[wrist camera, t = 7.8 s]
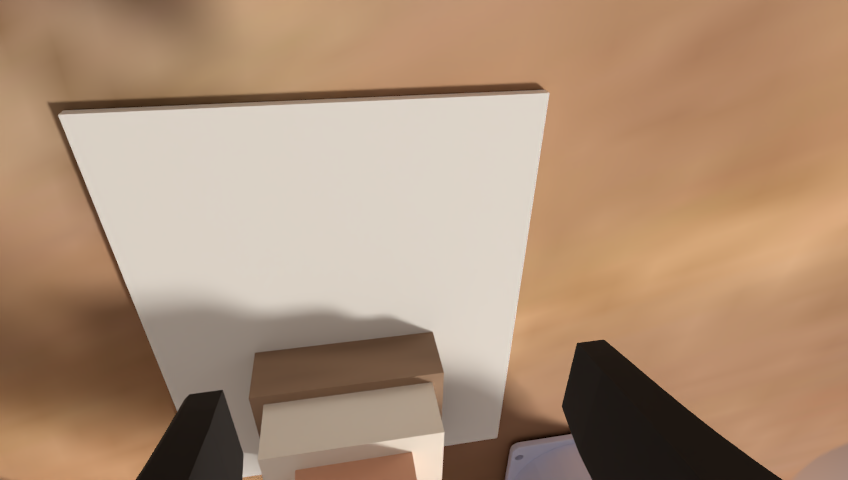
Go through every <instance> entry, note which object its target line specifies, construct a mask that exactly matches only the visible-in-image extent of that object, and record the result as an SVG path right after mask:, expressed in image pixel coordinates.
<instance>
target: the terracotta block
mask: <svg viewBox="0 0 848 480" xmlns="http://www.w3.org/2000/svg"><path fill="white" fill-rule="evenodd" d="M295 480H417V477H416V471H415V466H414V460H413V454H412V452H408V453H401V454H395V455H389V456H382V457H376V458H370V459H363V460H357V461H350V462H344V463H338V464H331V465H325V466H319V467H312V468H306V469H300V470H295Z"/></svg>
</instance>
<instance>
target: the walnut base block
mask: <svg viewBox="0 0 848 480" xmlns="http://www.w3.org/2000/svg"><path fill="white" fill-rule="evenodd" d="M429 382H432V383H433V387H434V391H435V396H436V400H437V404H438V408H439V412H440V416H441V420H442V403H443V383H444V371H443V367H442V364H441V360H440V356H439V353H438V349H437V345H436V342H435V338H434V335H433V332H427V333H418V334H410V335H401V336H393V337H384V338H376V339H367V340H359V341H350V342H342V343H333V344H325V345H316V346H308V347H300V348H291V349H283V350H274V351H266V352H257V353H255V355H254V363H253V370H252V377H251V384H250V392H249V402H250V405H251V409H252V413H253V416H254V420H255V424H256V427H257V431H258V434H259V438H260V434H261V424H262V415H263V405H265V404H273V403H280V402H288V401H295V400H302V399H310V398H317V397H325V396H332V395H340V394H347V393H355V392H362V391H370V390H377V389H385V388H392V387H400V386H407V385H415V384H422V383H429Z"/></svg>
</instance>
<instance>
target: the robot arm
mask: <svg viewBox="0 0 848 480" xmlns="http://www.w3.org/2000/svg"><path fill="white" fill-rule="evenodd" d="M562 408H563V411H564V414H565V417H566V420H567V422H568V425H569V428H570V431H571V434H568V435H562V436H555V437H549V438H543V439H536V440H530V441H523V442H518V443H515V444H513V445H512V446H511V448H510V453H509V458H508V464H507V470H506V475H505V480H782V479H781V478H779V477H778V476H776V475H775V474H773V473H772V472H770V471H769V470H768V469H766V468H765V467H763V466H762V465H760V464H759V463H758V462H756V461H755V460H753V459H752V458H751V457H749V456H748V455H747V454H745V453H744V452H743V451H741V450H740V449H738V448H737V447H736V446H734V445H733V444H732V443H730V442H729V441H728V440H726V439H725V438H724V437H722V436H721V435H720V434H718V433H717V432H716V431H714V430H713V429H712V428H711V427H709V426H708V425H707V424H705V423H704V422H703V421H702V420H700V419H699V418H698V417H696V416H695V415H694V414H693V413H691V412H690V411H689V410H688V409H686V408H685V407H684V406H683V405H682V404H680V403H679V402H678V401H677V400H675V399H674V398H673V397H672V396H671V395H669V394H668V393H667V392H666V391H664V390H663V389H662V388H661V387H660V386H658V385H657V384H656V383H655V382H654V381H653V380H651V379H650V378H649V377H648V376H647V375H645V374H644V373H643V372H642V371H641V370H639V369H638V368H637V367H636V366H635V365H634V364H632V363H631V362H630V361H629V360H628V359H627V358H625V357H624V356H623V355H622V354H621V353H619V352H618V351H617V350H616V349H615V348H613V347H612V346H611V345H610V344H609V343H607V342H606V341H605V340H598V341H590V342H582V343H577V346H576V350H575V354H574V358H573V362H572V366H571V371H570V375H569V379H568V383H567V387H566V391H565V396H564V400H563V404H562ZM243 458H244V454H243V451H242V448H241V445H240V441H239V438H238V435H237V432H236V429H235V426H234V423H233V420H232V417H231V414H230V410H229V407H228V404H227V401H226V398H225V395H224V392H223V390H218V391H210V392H203V393H195V394H189V395H188V396H187V397H186V398H185V399H184V401H183V403H182V404H181V406H180V408H179V410H178V411H177V413H176V415H175V417H174V418H173V420H172V422H171V423H170V425H169V427H168V429H167V430H166V432H165V434H164V435H163V437H162V439H161V440H160V442H159V444H158V445H157V447H156V448H155V450H154V452H153V453H152V455H151V457H150V458H149V460H148V461H147V463H146V465H145V466H144V468H143V469H142V471H141V473H140V474H139V476H138V477H137V479H136V480H242V475H243Z"/></svg>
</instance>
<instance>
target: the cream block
mask: <svg viewBox="0 0 848 480" xmlns="http://www.w3.org/2000/svg"><path fill="white" fill-rule="evenodd" d="M443 450H444V428H443V424H442V420H441V416H440V412H439V408H438V404H437V400H436V396H435V391H434V387H433V383H432V382H429V383H422V384H415V385H407V386H400V387H392V388H385V389H377V390H370V391H362V392H355V393H347V394H340V395H332V396H325V397H317V398H310V399H302V400H295V401H288V402H280V403H273V404H265V405H263V415H262V424H261V434H260V443H259V452H258V463H259V467H260V470H261V474H262V477H263V480H295V470H300V469H306V468H312V467H319V466H325V465H331V464H338V463H344V462H350V461H357V460H363V459H370V458H376V457H382V456H389V455H395V454H401V453H408V452H412V454H413V460H414V466H415V471H416V477H417V480H442V468H443Z"/></svg>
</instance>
